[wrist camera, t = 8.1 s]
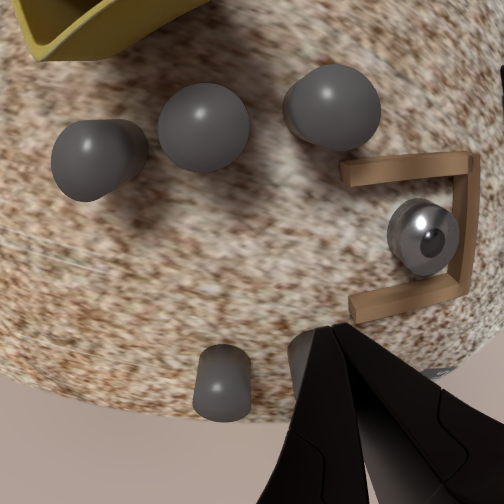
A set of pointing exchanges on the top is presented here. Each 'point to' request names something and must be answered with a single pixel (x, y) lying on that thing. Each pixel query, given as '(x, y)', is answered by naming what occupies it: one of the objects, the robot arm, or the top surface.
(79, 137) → the spacers
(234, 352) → the spacers
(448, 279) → the corral
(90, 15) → the flower pot
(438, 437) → the robot arm
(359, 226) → the top surface
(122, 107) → the top surface
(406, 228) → the grey metallic short cylinder
